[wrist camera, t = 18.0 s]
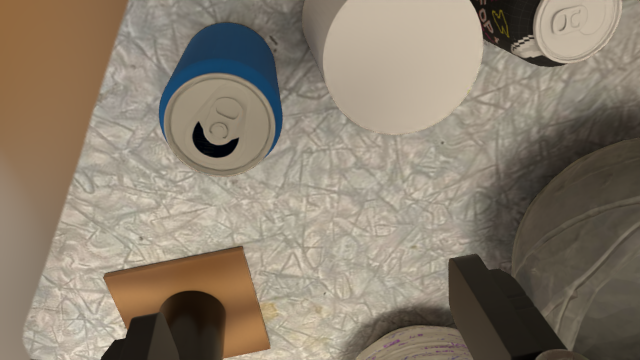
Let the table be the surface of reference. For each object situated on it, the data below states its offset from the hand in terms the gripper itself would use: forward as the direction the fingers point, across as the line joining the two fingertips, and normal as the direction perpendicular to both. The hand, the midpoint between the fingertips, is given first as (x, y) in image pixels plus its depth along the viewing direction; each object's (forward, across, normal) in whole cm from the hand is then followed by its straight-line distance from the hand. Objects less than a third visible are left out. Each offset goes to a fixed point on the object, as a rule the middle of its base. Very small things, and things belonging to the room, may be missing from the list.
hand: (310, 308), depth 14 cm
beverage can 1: (+26, +3, 0) cm, 26 cm away
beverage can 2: (+26, -16, -3) cm, 30 cm away
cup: (+26, -7, -2) cm, 27 cm away
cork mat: (+26, +11, +21) cm, 35 cm away
